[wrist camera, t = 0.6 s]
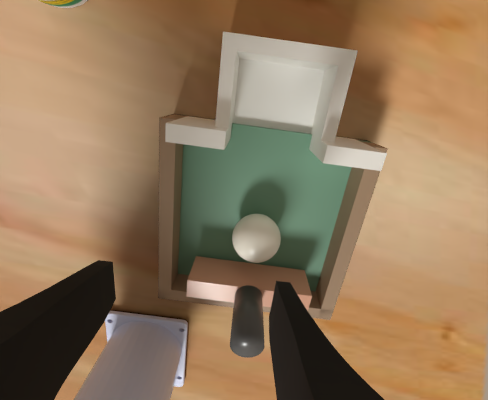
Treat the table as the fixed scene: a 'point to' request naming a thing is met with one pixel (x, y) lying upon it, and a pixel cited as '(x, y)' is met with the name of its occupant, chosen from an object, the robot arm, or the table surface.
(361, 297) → the table surface
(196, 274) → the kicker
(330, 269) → the pitch
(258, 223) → the ball
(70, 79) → the table surface
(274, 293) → the robot arm
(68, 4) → the supplement bottle
